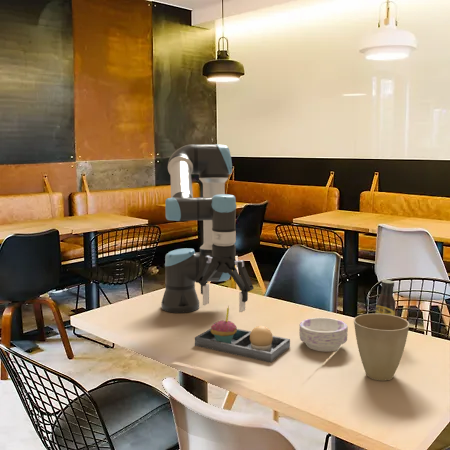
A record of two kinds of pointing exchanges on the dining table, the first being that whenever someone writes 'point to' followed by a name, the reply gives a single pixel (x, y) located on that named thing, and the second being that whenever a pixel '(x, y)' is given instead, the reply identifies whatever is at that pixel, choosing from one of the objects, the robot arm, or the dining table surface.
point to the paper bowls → (323, 333)
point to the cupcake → (224, 330)
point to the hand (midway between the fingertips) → (223, 307)
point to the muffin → (261, 338)
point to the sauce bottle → (386, 299)
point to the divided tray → (243, 345)
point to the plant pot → (380, 343)
